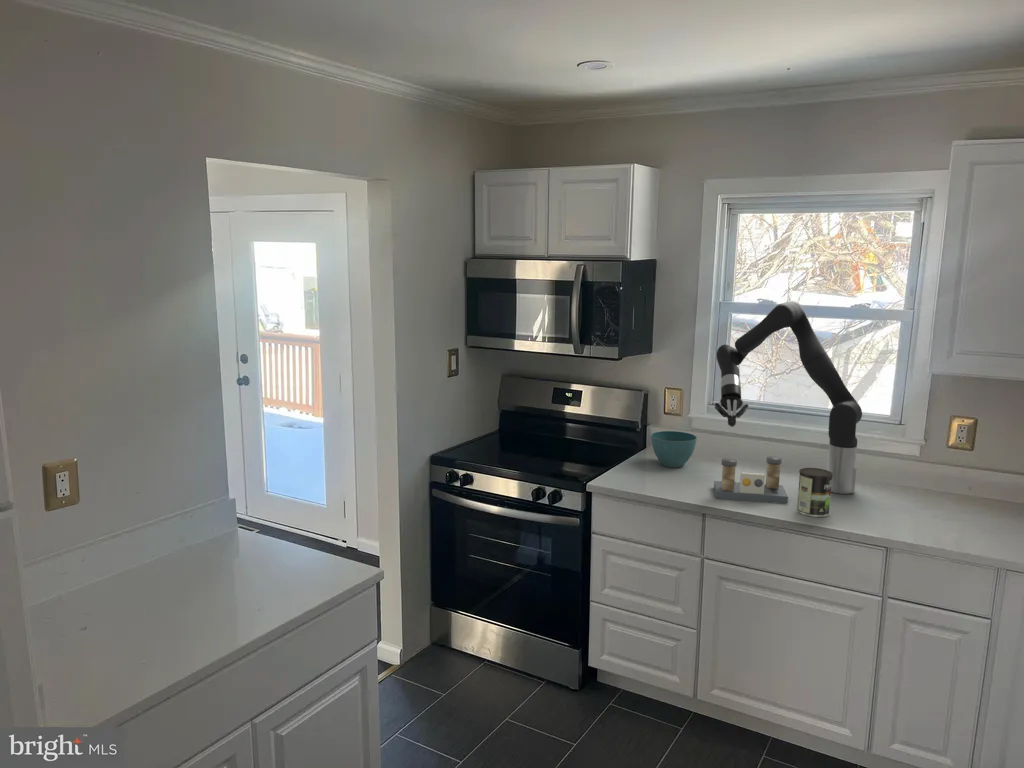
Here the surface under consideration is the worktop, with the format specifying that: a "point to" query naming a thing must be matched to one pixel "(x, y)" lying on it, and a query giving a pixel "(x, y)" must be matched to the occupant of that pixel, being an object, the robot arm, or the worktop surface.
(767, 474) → the near knob
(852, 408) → the robot arm
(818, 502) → the coffee can
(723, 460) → the far knob
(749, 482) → the slider board
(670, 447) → the teal round bowl
